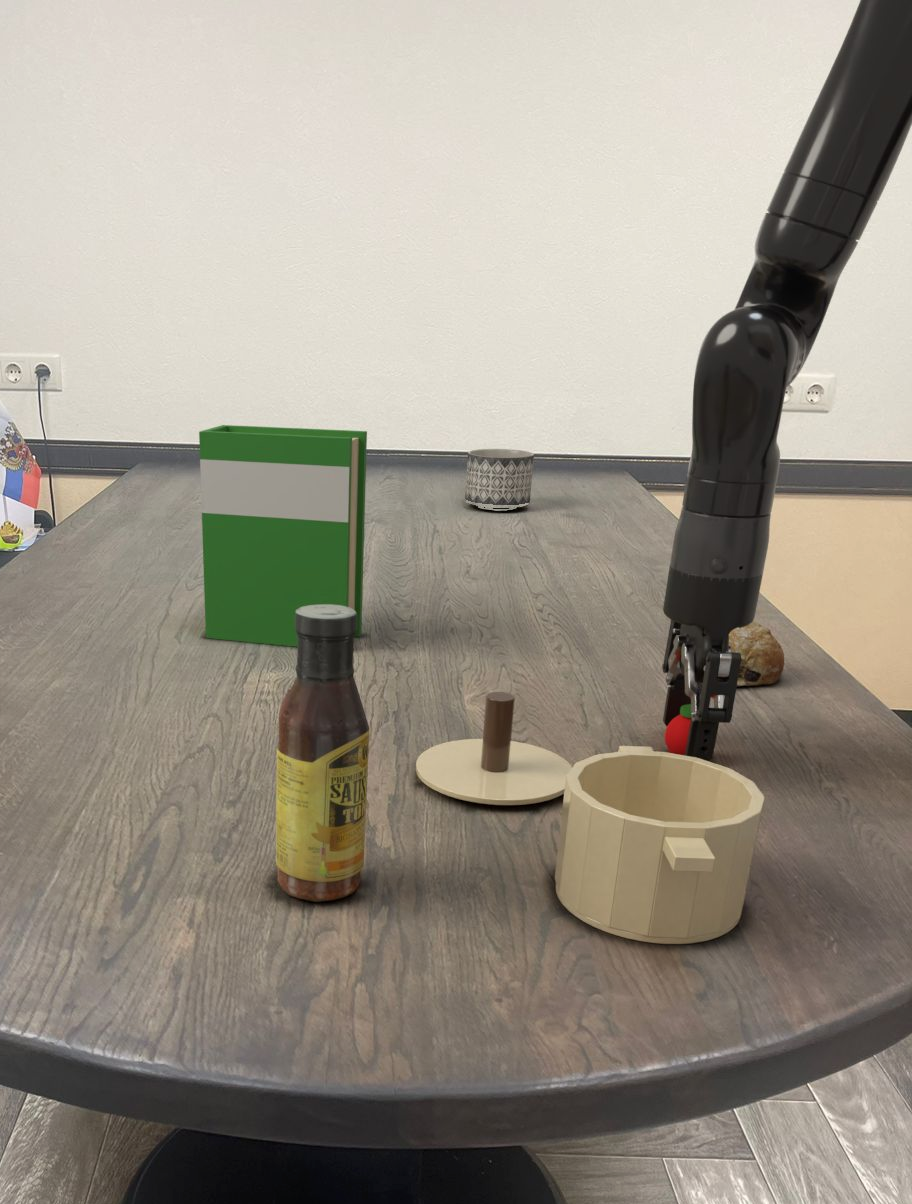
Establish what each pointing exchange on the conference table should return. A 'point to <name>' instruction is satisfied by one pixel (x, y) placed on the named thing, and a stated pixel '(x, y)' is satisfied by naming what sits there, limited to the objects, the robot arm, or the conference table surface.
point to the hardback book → (280, 527)
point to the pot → (656, 845)
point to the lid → (494, 763)
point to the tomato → (678, 731)
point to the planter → (499, 476)
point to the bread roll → (757, 655)
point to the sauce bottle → (322, 762)
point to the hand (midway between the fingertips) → (685, 742)
